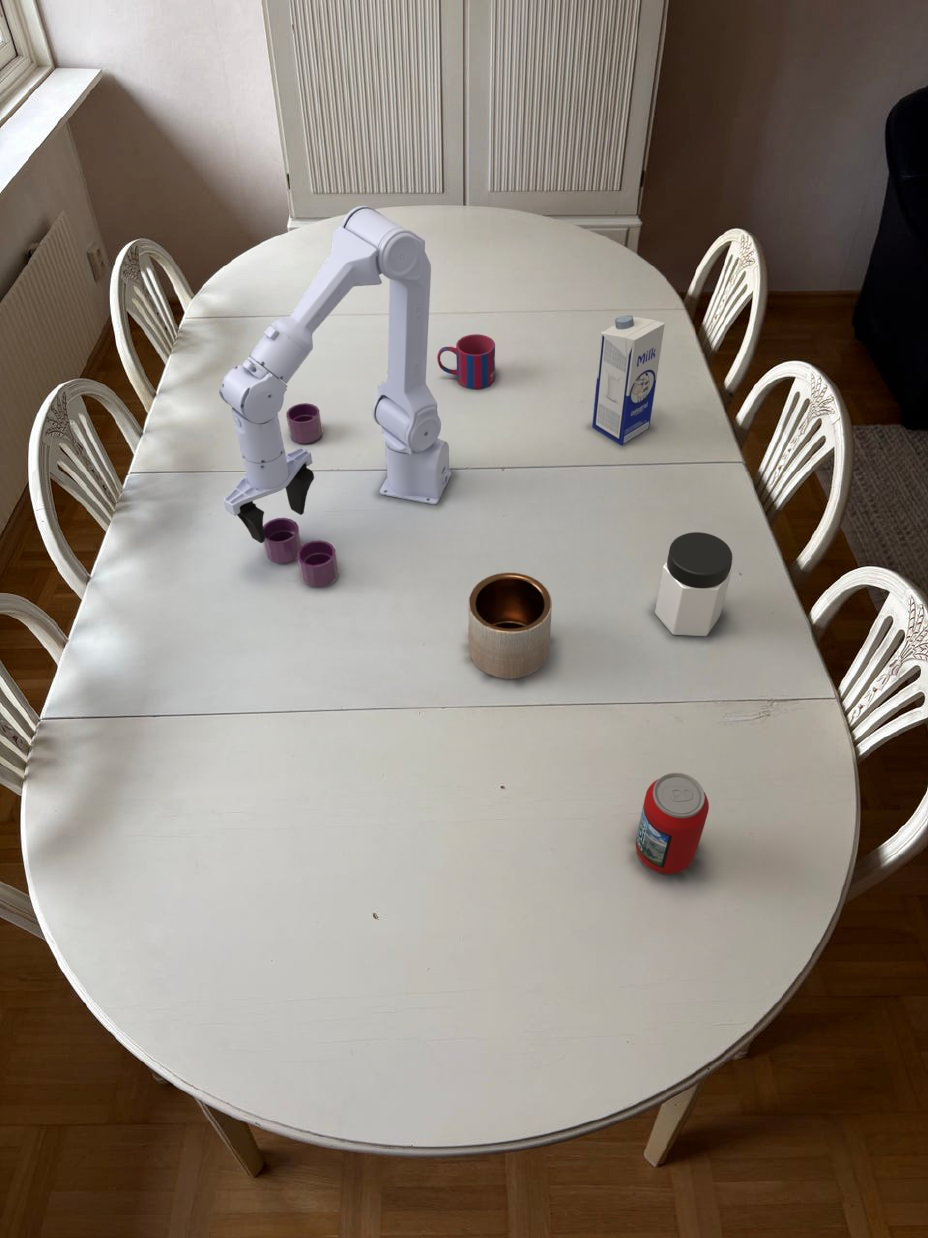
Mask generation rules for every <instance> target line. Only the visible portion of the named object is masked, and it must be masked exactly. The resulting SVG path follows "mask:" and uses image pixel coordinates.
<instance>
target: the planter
mask: <svg viewBox="0 0 928 1238" xmlns="http://www.w3.org/2000/svg"><path fill="white" fill-rule="evenodd" d="M467 605H468V606H467V607H468V651H469V655H470V659H471V660H472V662H473V663H474V664H475V665H476V667H477V668H478V669H480V670H481V671H483V672H484V673H486V674H487V675H490V676H493V677H495V678H499V679H505V680H506V679H507V680H508V679H511V680H513V679H520V678H525V677H527V676H529V675H532V674H533V673H536V672H537V671H539V669H540V668H541V667H542V666H544V664H545V663H546V661H547V659H548V657H549V654H550V650H551V649H550V647H551V627H552V626H551V625H552V609H553V608H552V607H553V602H552V596H551V594H550V591H549V590H548V588H547V586H545V584H543V583H542V582H541V581H540V580H538V579H536V578H534V577H532V576H530V575H528V574H524V573H520V572H499V573H495V574H491V575H489V576H487V577H485V578H483V579H482V580H480V581H479V582H478V583H476V585H474V587H473V588H472V589H471V591H470V593H469V596H468V603H467Z"/></svg>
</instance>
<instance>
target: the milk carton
mask: <svg viewBox="0 0 928 1238" xmlns="http://www.w3.org/2000/svg"><path fill="white" fill-rule="evenodd" d="M614 323H615V324H614V325H612V326H610V327H608V328H606V329H605V330H603V331H601V332H600V341H599V352H598V362H597V375H596V382H595V394H594V402H593V403H594V404H593V416H592V424H591V428H592V429H594V430H595V431H597V432H598V433H600V434H601V435H603V436H605V437H606V438H608V439H610V440H611V441H613V442H615V443H616V444H617V445H619V446H621V447H622V446H624V445H626V444H628V443H629V442H631V441H632V440H633V439H635V438H637V437H638V436H640V435H642V434H644V433H645V432H648V431H649V430H650V425H651V419H652V414H653V412H652V411H653V406H654V398H655V392H656V385H657V379H658V372H659V365H660V358H661V352H662V345H663V339H664V331H665V325H666V323H665V322H662V321H659V320H657V319H651V318H646V317H645V318H644V317H638V316H633V315H624V316H623V315H621V316H618V317H617V318H615V319H614Z"/></svg>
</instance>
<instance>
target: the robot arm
mask: <svg viewBox="0 0 928 1238" xmlns="http://www.w3.org/2000/svg"><path fill="white" fill-rule="evenodd" d="M425 249H426V240H425V239H423V238H422V237H421V236H419V234H417V233H415V232H413V231H412V230H410V229H407V228H405V227H403V226H401V225H399V224H398V223H396V222H395V221H392V220H391V219H390V218H388V217H386V216H385V215H383V214H382V213H380V212H379V211H377V210H376V209H375V208H372V207H371V206H368V205H358V206H356V207H354V208H352V209H351V210H350V211H349V212H348V213H347V214H346V215H345V216H344V218H343V219H342V222H341V225H339V226H338V228H336V229H335V231H334V232H333V233H332V240H331V248H330V252H329V255H328V256H327V258H326V259H325V261H324V263H323V264H322V266H321V267H320V269H319V271H318V272H317V274H316V275H315V277H314V278H313V279H312V282H311V283H310V285H309V286H308V288H307V289H306V291H305V292H304V294H303V296H302V297H301V299H300V300H299V302H298V304H296V307H295V308H294V310H293V311H292V313H291V314H290V315H289V316H285V317H280V318H276V319H275V320H274V322H273V323H272V324H271V325H268V326H267V328H266V330H265V331H263V334H264V335H263V336H262V338H261V339H260V340H259V342H258V343H257V344H256V346H255V347H254V348H253V350H251V353H250V354H249V355H248V357H247V358H246V359H245V360H244V362H243V363H242V364H239V365H235V366H233V367H232V368H230V369H229V370H228V371H227V372H226V373H225V375H224V376H223V378H222V382H221V389H219V390H218V394H219V397H220V398H221V399H222V400H223V401H224V403H226V404H227V405H229V406H230V408H231V413H232V417H233V418H232V419H233V422H234V428H235V431H236V436H237V440H238V445H239V450H240V453H241V457H242V463H243V467H244V472H245V475H244V476H243V477H242V478H241V479H240V481H239V482H238V484H237V485H236V486H235V487H234V488H233V490H232V491H231V492H230V493H229V494H228V495H227V496H226V497H224V498H223V499H222V500H223V505H224V509H225V511H227V512H228V513H229V514H231V515H233V516H234V517H236V516H237V517H238V518H239V520H241V522H242V523H243V525H244V526H245V527H246V529H247V530H248V532H249V534H250V536H251V538H252V539H253V540H255V541H256V542H258V543H260V544H263V542H264V541H265V534H264V529H263V526H264V515H265V511H264V510H262V509H260V508H259V507H257V504H256V503H254V501H256V500H259V499H261V498H264V497H268V496H270V495H273V494H276V493H278V492H281V491H283V490H284V489H285V491H286V496H287V500H288V505H289V508H290V510H291V511H293V512H294V513H296V514H297V515H299V516H302V515H303V514H304V513H305V508H306V507H305V506H306V502H307V501H306V500H307V496H308V493H309V490H310V488H311V485H312V483H313V481H314V479H315V474H314V471H313V470H311V469H309V468H308V467H309V466H310V465H313V457H312V452H311V451H309V450H307V449H305V448H304V447H299V448H298V449H296V450H293V451H292V452H288V453H286V450H285V446H284V441H283V434H282V429H281V428H282V427H281V424H280V419H279V414H278V413H279V412H280V411H281V410H282V408H283V405H284V401H285V394H286V392H287V390H288V389H287V388H288V385H287V384H288V383H289V381H291V379H292V377H293V376H294V375H295V373H297V371H298V370H299V368H300V367H301V366H302V364H303V363H304V362H305V360H306V359H307V358H308V356H309V355H310V353H311V352H312V351H313V349H314V343H313V341H314V340H313V334H314V333H315V331H316V330H317V329H318V328H319V327H320V326H321V325H322V323H324V321H325V320H326V319H327V318H328V316H329V315H330V314H331V313H332V312H333V311H334V310H335V308H337V306H338V305H339V304H340V302H342V300H343V299H344V298H345V297H346V296H347V295H348V293H349V292H350V291H351V290H352V289H353V288H355V287H367V286H380V285H382V284H383V282H382V279H381V276H380V275H383V276H384V277H385V278H386V279H389V289H388V290H389V291H388V292H389V294H388V295H389V296H388V297H389V298H388V344H387V346H388V347H387V379H385V380H383V381H381V383H379V384H378V385H377V394H376V397H375V400H374V403H373V405H372V410H371V412H372V413H371V415H372V418H373V420H374V422H375V423H376V424H377V425H378V426H381V434H382V435H383V440H384V441H383V442H384V452H385V462H386V471H387V477H386V478H385V480H384V482H383V484H382V485H381V487H380V489H379V494H380V495H381V496H382V495H383V496H388V497H393V498H397V499H402V500H408V501H415V502H418V503H424V504H429V505H434V506H435V505H437V504H438V503H439V501H440V499H441V497H442V495H443V492H445V488H446V486H447V484H448V482H449V480H450V478H451V476H452V472H451V471H450V470H451V468H450V447H449V443H448V441H445V440H443V439H440V438H439V435H440V433H441V430H442V421H441V418H440V416H439V413H438V402H437V401H436V398H435V397H434V395H433V393H432V391H431V390H430V388H429V387H428V385H427V364H428V363H427V362H428V342H429V321H430V320H429V319H430V302H431V301H430V300H431V299H430V298H431V279H432V264H431V261H430V259H429V257H428V255H427V253H426V250H425Z"/></svg>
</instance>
